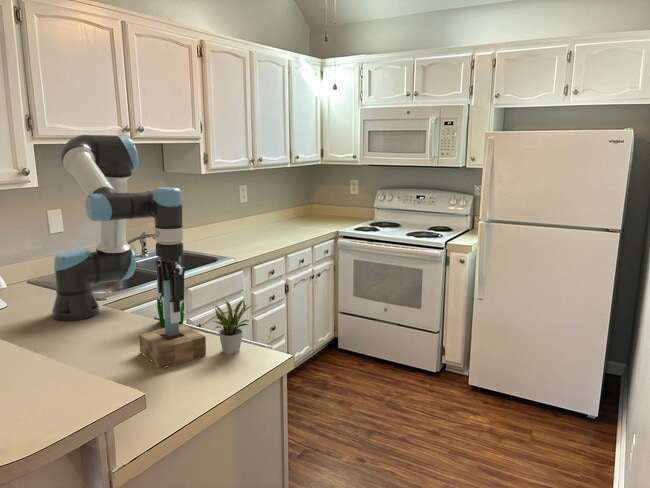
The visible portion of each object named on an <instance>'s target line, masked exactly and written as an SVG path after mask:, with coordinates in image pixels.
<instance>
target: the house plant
mask: <svg viewBox="0 0 650 488" xmlns="http://www.w3.org/2000/svg"><path fill="white" fill-rule="evenodd" d="M223 300H224V304H225V305H226V308H227V312H228V314H227V316H226V315H225V313H224V311H223V310H222V308H220V306H217V305H216V304H214V303H212V305H213V306H214V307H215V308H214V310H215V311H214V312H215V316H216V318H215V321H214V320H213V321H212V323H216V324H218V325H217V326H215V327H214V329H220V330H219V332H218V333H219V339H220V344H221V350H222V353H223V354H226V355H234V354H235V355H236V354H238V353H239V352H240V350H241V345H242V338H243V329H242V328H239V327H244V326H249V324H247V322H249V323H251V321H250V320H249V319H244V320H242V321H240V319H241V318H242V316H243V315H244V313H246V311H247V310H248V309H250V308H252V307H257V306H259V305H258V304H253V305H250V306H248V305H249V304H245V305H244V304H243V302H244V301H245V300H246V298H243V299H242V300H240V301H239V302H238V304H237V305H236V307H235V309H234V313H233V310H232V306H231V303H230V302H229V301H227V299H225V298H224V299H223ZM242 306H243V307H242ZM240 307H242V308H241V310H240V311H239V309H240ZM217 320H218V321H217ZM239 321H240V322H239ZM219 325H220V326H219ZM249 327H250V326H249Z"/></svg>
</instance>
